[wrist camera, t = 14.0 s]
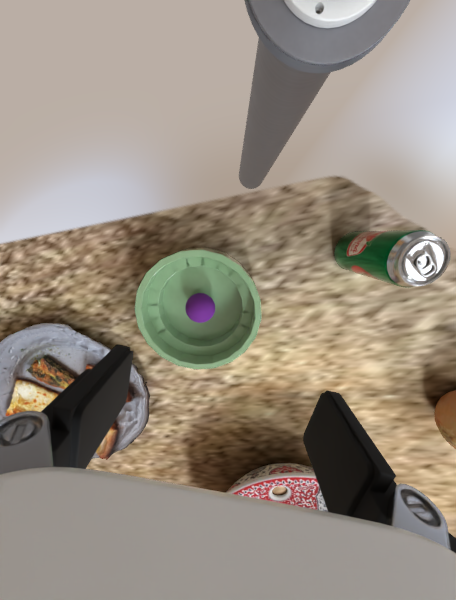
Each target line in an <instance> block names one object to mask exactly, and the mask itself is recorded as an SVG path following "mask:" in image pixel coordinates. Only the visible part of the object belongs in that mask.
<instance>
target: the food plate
mask: <svg viewBox="0 0 456 600" xmlns="http://www.w3.org/2000/svg"><path fill="white" fill-rule="evenodd" d="M68 327H69V328H70V329H69V328H68ZM71 329H72V328H71V327H70V326H68V325H65V324H64V325H63V324H58V323H57V324H56V323H55V324H54V323H42V324H36V325H33V326H30V327H27V328H25V329H24V330H22V331H18V332H16V333H14V334H11V335H9V336H7V338H5V339H4V340H3V341H1V342H0V420H2V419H4V418H6V417H8V416H10V415H13V414H16V413H19V412H24V411H38V412H41V411H42V410H43V409H44V408H45V407H46V406H47V405H49V404H50V403H51V402H52V401H53V400H54V399H55V398H56V397H57V396H58V395H59V394H60V393H61V392H62V391H63V390H64V389H66V388H67V387H68V386H69V385H70V384H71V383H72V382H73V381H74V380H75V379H76V378H77V377H78V376H79V375H80V374H81V373H83V372H84V371H85V370H86V369H92V368H93V367H94V366H95V365H96V364H97V363H98V362H99V361H100V360H102V359H103V358H104V357H105V356H106V355H107V354H108V353H109V352H110V351H111V349H110V348H108V347H106V346H104V345H103V344H101V343H98V342H96V341H94V340H92V339H91V338H89V337H88V336H85V335H82V334H80V333H76V332H75V331H74V330H73V329H72V330H71ZM143 381H144V380H143V377H142V376H141V375H139V374H138V373H137V367H136V366H135V365H134V364H133V363H132V367H131V374H130V381H129V388H128V395H127V400H126V403H125V405H124V407H123V408H122V410H121V412H120V413H119V415H118V417H117V418H116V420H115V421H114V423H113V425H112V426H111V428H110V430H109V431H108V433H107V434H106V436H105V438H104V439H103V441H102V443H101V444H100V446H99V447H98V449H97V451H96V452H95V454H94V456H93V457H92V458H99V457H100V458H102V459H103V458H104V459H106V460H107V459H108V458H109V457H110V456H111V455H112V454H113V453H115V452H116V451H119V450H122V449H124V448H126V447H127V446H128V445H129V444H131V443H132V442H133V441H134V439H136V438H137V437H138V436H139V435H140V434H141V432H142V431H143V429H144V428H145V427H146V424H147V422H148V418H149V417H148V416H149V397H150V394H149V392H148V388H147V386H146V383H147V382H146V383H145V385H144V384H143V383H144V382H143Z"/></svg>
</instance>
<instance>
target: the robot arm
mask: <svg viewBox="0 0 456 600" xmlns="http://www.w3.org/2000/svg"><path fill="white" fill-rule="evenodd" d="M376 1H377V0H284V2H285V3H286V5H287V7H288V8H289V9H290V10H291V11H292V12H293V13H294V14H295V16H297V17H298V18H299V19H301V20H302V21H304V22H305V23H307V24H310V25H312V26H315V27H320V28H335V27H340V26H343V25H346V24H348V23H351V22H352V21H354V20H356V19H357V18H359V17H360V16H362V15H363V14H364V13H365V12H366V11H367V10H369V9H370V8H371V7H372V6H373V4H374V3H375V2H376ZM132 360H133V351H130V347H127V346H122V345H116V346H115V347H114V348H113V349H112V350H111V351H110V352H109V353H108V354H107V355H106V356H105V357H104V358H103V359H102V360H100V361H99V362H98V363H97V364H96V365H95V366H94V367H93V368H92V369H86V370H85V371H84V372H83V373H81V374H80V375H79V376H78V377H77V378H76V379H75V380H74V381H73V382H72V383H71V384H70V385H69V386H68V387H67V388H66V389H64V390H63V391H62V392H61V393H60V394H59V395H58V396H57V397H56V398H55V399H54V400H53V401H52V402H51V403H50V404H49V405H47V406H46V407H45V408H44V409H43V410H42V411H41V412H38V411H24V412H19V413H16V414H13V415H10V416H8V417H6V418H4V419H2V420H0V600H456V538H455V537H453V536H452V535H451V534H450V533H448V527H447V523H446V520H445V518H444V517H443V515H442V513H441V512H440V510H439V509H438V508H437V507H436V506H435V504H434V503H433V502H432V501H431V500H430V499H429V498H428V497H426V496H425V495H424V494H423V493H421V492H420V491H418V490H417V489H415V488H413V487H411V486H409V485H406V484H399V485H396V483H395V482H394V478H395V477H396V475H395V474H394V472H393V471H392V469H391V468H390V466H389V465H388V463H387V462H386V460H385V459H384V458H383V456H382V455H381V453H380V452H379V450H378V449H377V447H376V446H375V444H374V443H373V441H372V440H371V439H370V437H369V436H368V434H367V433H366V431H365V430H364V428H363V427H362V425H361V424H360V423H359V421H358V420H357V418H356V417H355V415H354V414H353V412H352V411H351V409H350V408H349V406H348V405H347V404H346V402H345V401H344V399H343V398H342V396H341V395H340V394H339V393H336V392H331V391H326V392H325V393H322V394H321V396H320V398H319V400H318V403H317V405H316V407H315V409H314V412H313V414H312V416H311V419H310V421H309V423H308V426H307V428H306V430H305V433H304V436H303V441H304V445H305V448H306V450H307V453H308V456H309V459H310V462H311V465H312V467H313V470H314V473H315V476H316V479H317V482H318V484H319V487H320V490H321V493H322V496H323V499H324V501H325V504H326V507H327V510H328V512H324V511H319V510H314V509H309V508H304V507H299V506H293V505H288V504H283V503H278V502H273V501H267V500H262V499H257V498H251V497H246V496H241V495H235V494H230V493H224V492H219V491H214V490H208V489H203V488H197V487H192V486H186V485H181V484H175V483H169V482H164V481H158V480H153V479H147V478H142V477H136V476H129V475H123V474H117V473H111V472H104V471H98V470H90V469H86V467H87V465H88V464H89V462H90V460H91V459H92V457H93V456H94V454H95V452H96V451H97V449H98V447H99V446H100V444H101V443H102V441H103V439H104V438H105V436H106V434H107V433H108V431H109V430H110V428H111V426H112V425H113V423H114V421H115V420H116V418H117V417H118V415H119V413H120V412H121V410H122V408H123V407H124V405H125V403H126V400H127V395H128V388H129V381H130V374H131V367H132Z"/></svg>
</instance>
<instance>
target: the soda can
mask: <svg viewBox="0 0 456 600" xmlns="http://www.w3.org/2000/svg"><path fill="white" fill-rule="evenodd" d="M334 255H335V260H336V262H337V264H338V265H339V266H340V267H341V268H343V269H346V270H349V271H352V272H355V273H358V274H362V275H365V276H368V277H371V278H375V279H378V280H381V281H384V282H388V283H391V284H394V285H397V286H401V287H415V286H423V285H427V284H429V283H432V282H433V281H435V280H436V279H438V278H439V277H440V276H441V275H442V274H443V273H444V271H445V270H446V268H447V266H448V264H449V261H450V249H449V246H448V244H447V242H446V241H445V240H444V239H442V238H441V237H438V236H436V235H435V234H433V233H431V232H429V231H425V230H406V231H355V232H350V233H348V234H346V235H344V236H343V237H342V238H341V239H340V240H339V241H338V243H337V245H336V247H335V252H334Z"/></svg>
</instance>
